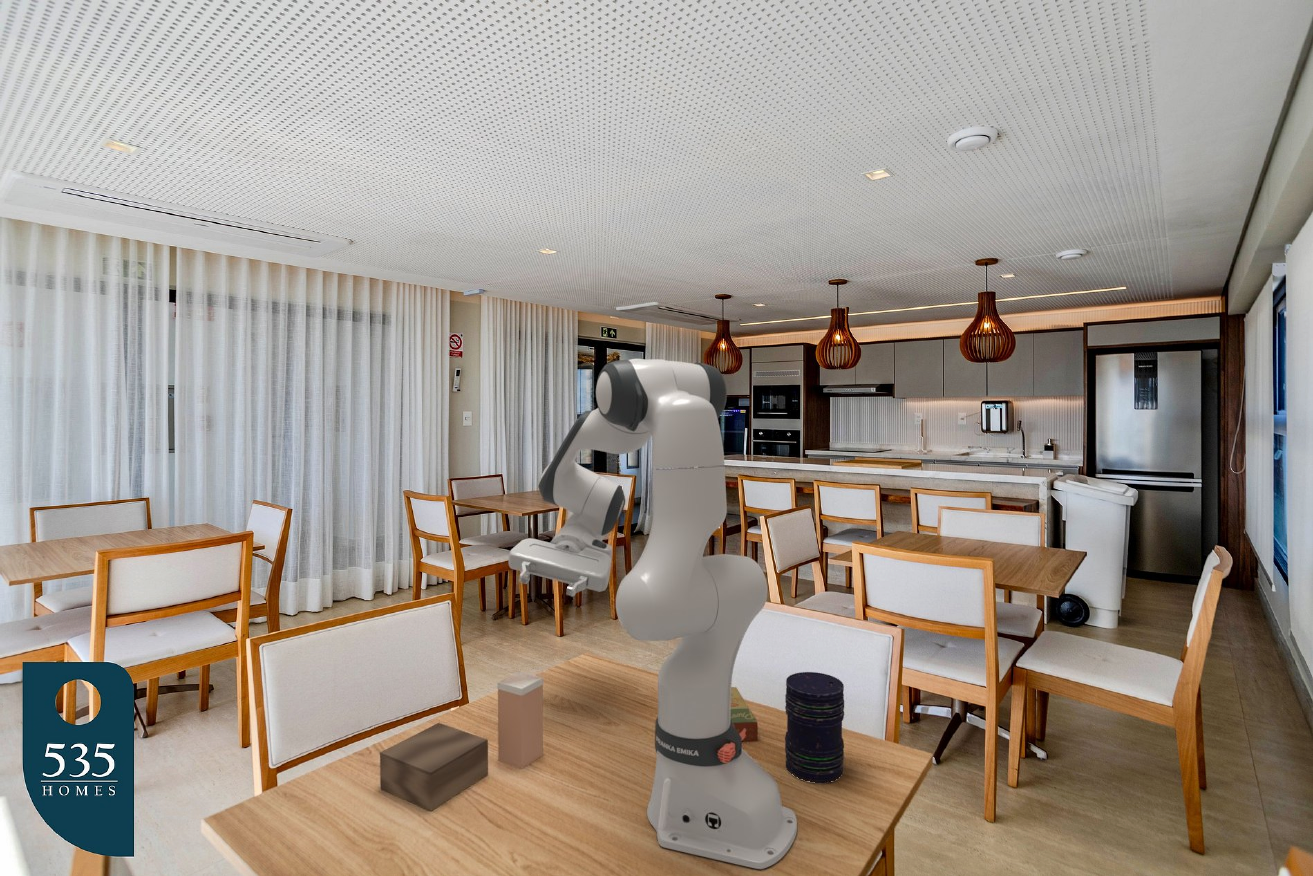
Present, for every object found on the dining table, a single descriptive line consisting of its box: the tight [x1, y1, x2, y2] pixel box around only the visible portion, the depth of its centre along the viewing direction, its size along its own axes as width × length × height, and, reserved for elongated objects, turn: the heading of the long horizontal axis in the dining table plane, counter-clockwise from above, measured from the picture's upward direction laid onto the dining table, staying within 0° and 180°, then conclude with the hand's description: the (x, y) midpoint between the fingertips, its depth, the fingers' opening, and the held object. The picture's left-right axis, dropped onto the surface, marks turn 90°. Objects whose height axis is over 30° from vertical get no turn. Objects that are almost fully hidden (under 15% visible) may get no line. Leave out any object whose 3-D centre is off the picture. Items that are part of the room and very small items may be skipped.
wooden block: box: [379, 722, 489, 812], centre depth 108 cm, size 12×12×6 cm
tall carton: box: [497, 671, 544, 770], centre depth 116 cm, size 6×6×14 cm
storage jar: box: [784, 671, 845, 783], centre depth 112 cm, size 10×10×15 cm
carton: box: [730, 686, 759, 742], centre depth 129 cm, size 8×16×4 cm, turn 8°
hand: (546, 586), depth 122 cm, fingers open, 8 cm apart
